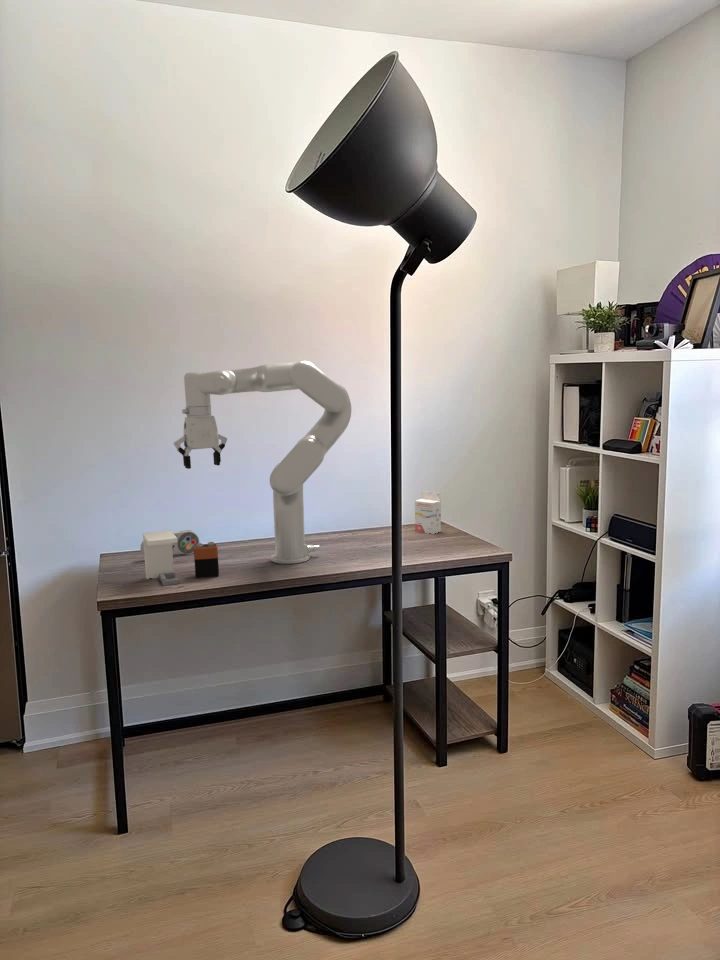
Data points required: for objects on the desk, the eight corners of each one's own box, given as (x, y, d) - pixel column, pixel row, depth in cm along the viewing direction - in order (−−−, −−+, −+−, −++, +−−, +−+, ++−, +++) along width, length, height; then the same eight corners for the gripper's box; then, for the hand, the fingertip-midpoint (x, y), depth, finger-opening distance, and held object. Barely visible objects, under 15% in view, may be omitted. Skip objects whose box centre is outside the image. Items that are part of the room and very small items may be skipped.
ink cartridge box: (414, 531, 270) (413, 492, 268) (421, 529, 274) (421, 490, 272) (434, 534, 265) (433, 494, 263) (441, 531, 269) (441, 492, 267)
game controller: (143, 562, 237) (141, 537, 236) (141, 561, 239) (139, 536, 238) (200, 553, 248) (199, 528, 246) (198, 551, 250) (196, 527, 248)
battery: (218, 576, 218) (217, 543, 216) (195, 578, 217) (193, 545, 215) (219, 572, 222) (217, 540, 221) (196, 574, 221) (194, 542, 219)
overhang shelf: (173, 574, 221) (170, 530, 219) (180, 584, 210) (177, 538, 208) (146, 578, 218) (142, 533, 216) (151, 588, 207) (148, 541, 205)
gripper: (176, 414, 220) (180, 470, 223) (229, 410, 230) (233, 464, 232) (167, 413, 226) (171, 468, 229) (219, 410, 236) (223, 462, 238)
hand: (202, 466), depth 231 cm, fingers open, 9 cm apart
